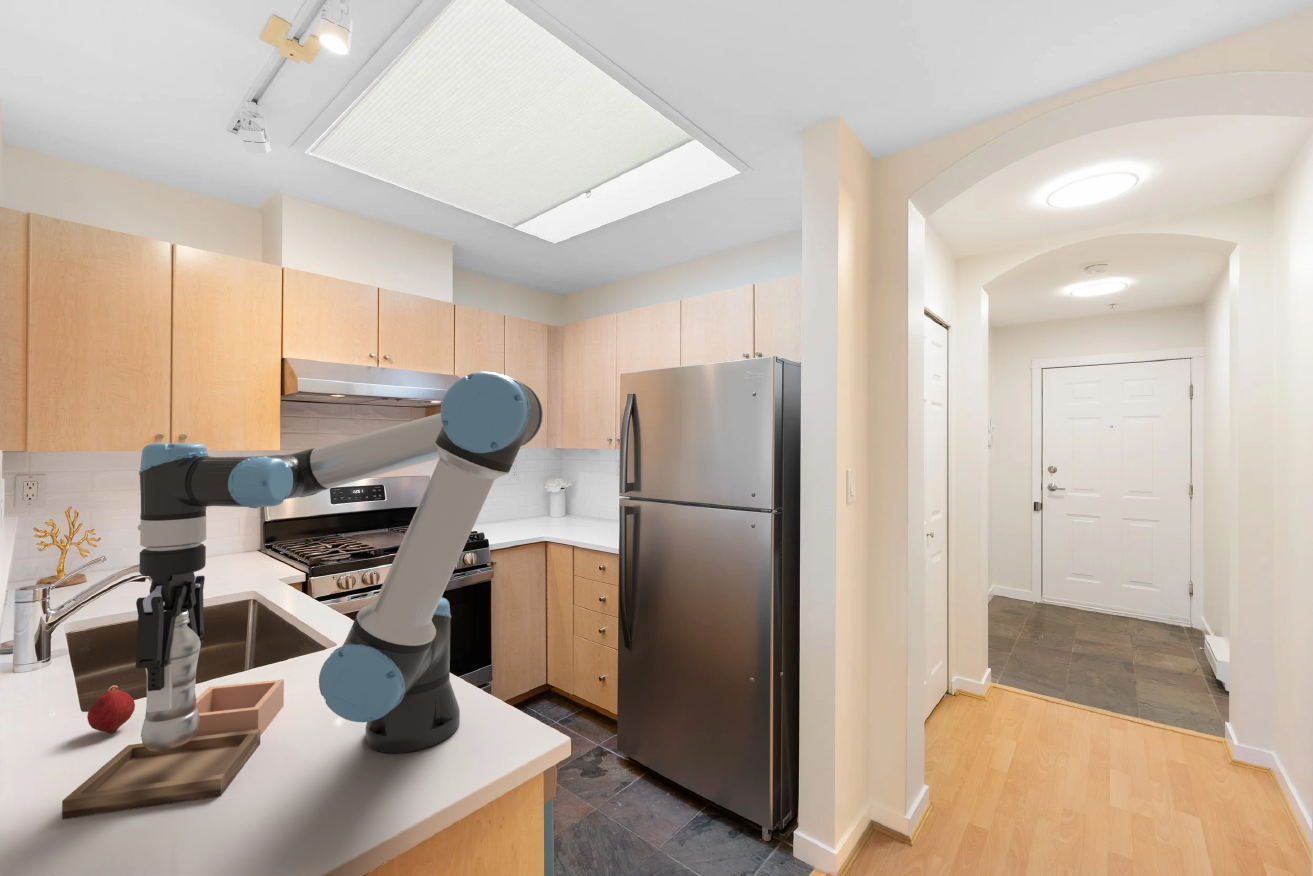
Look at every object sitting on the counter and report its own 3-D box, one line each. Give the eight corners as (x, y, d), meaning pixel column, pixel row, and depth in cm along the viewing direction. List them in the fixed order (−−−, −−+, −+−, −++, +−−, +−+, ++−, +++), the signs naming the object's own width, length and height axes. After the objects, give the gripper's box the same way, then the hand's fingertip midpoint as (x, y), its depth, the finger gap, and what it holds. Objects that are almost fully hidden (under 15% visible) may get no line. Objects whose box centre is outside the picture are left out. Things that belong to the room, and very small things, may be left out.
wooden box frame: (283, 705, 106) (283, 679, 106) (258, 738, 95) (258, 709, 95) (209, 714, 103) (209, 687, 103) (173, 749, 91) (173, 718, 91)
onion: (104, 743, 93) (104, 695, 93) (77, 739, 94) (78, 692, 94) (143, 725, 98) (143, 680, 98) (117, 722, 100) (117, 677, 100)
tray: (260, 744, 93) (260, 729, 93) (220, 796, 79) (220, 778, 79) (128, 760, 88) (128, 745, 88) (62, 819, 74) (62, 800, 74)
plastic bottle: (155, 737, 86) (156, 607, 86) (208, 731, 88) (209, 604, 88) (130, 761, 80) (131, 621, 79) (187, 753, 82) (188, 617, 81)
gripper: (177, 535, 92) (176, 676, 92) (99, 560, 73) (98, 735, 74) (231, 534, 94) (230, 671, 94) (168, 557, 76) (166, 727, 76)
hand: (172, 699), depth 84 cm, fingers closed on plastic bottle, 6 cm apart
